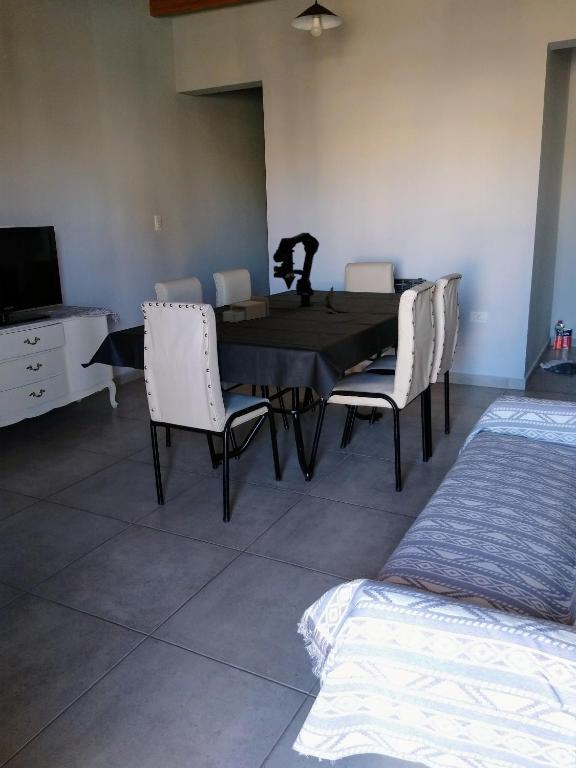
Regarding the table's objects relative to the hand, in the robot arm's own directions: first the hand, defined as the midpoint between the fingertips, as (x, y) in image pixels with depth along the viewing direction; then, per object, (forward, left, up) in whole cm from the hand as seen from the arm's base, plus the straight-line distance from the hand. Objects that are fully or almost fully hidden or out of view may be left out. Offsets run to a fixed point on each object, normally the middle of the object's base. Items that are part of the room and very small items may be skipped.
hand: (288, 289), depth 355 cm
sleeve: (+28, -10, -12) cm, 33 cm away
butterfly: (-1, +28, -12) cm, 31 cm away
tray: (+31, -11, -12) cm, 35 cm away
